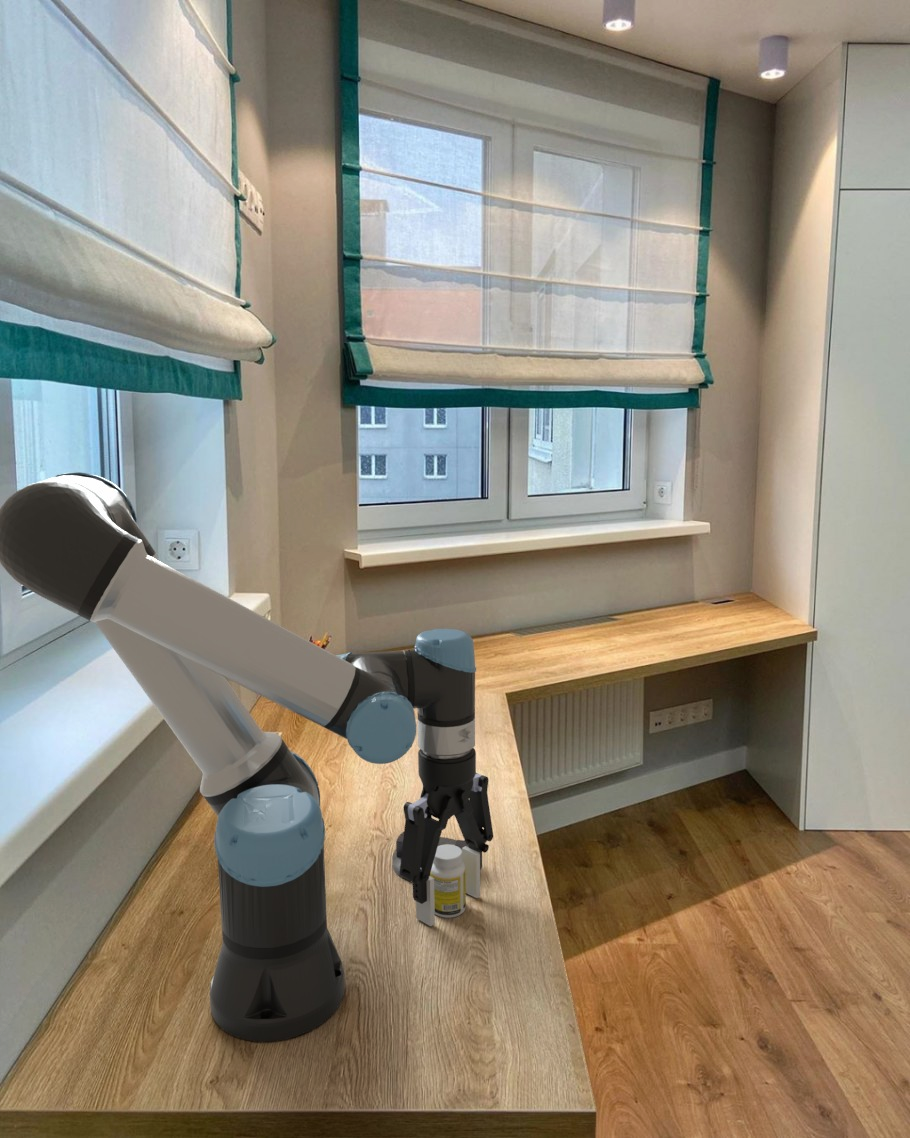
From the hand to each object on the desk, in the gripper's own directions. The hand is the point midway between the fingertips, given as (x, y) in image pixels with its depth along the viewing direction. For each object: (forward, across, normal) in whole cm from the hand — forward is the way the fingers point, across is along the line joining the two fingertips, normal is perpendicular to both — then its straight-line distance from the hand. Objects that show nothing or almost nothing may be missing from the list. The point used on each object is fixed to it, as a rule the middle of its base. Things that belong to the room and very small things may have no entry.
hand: (449, 906), depth 117 cm
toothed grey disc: (0, +7, +10) cm, 12 cm away
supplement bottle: (0, 0, 0) cm, 0 cm away
